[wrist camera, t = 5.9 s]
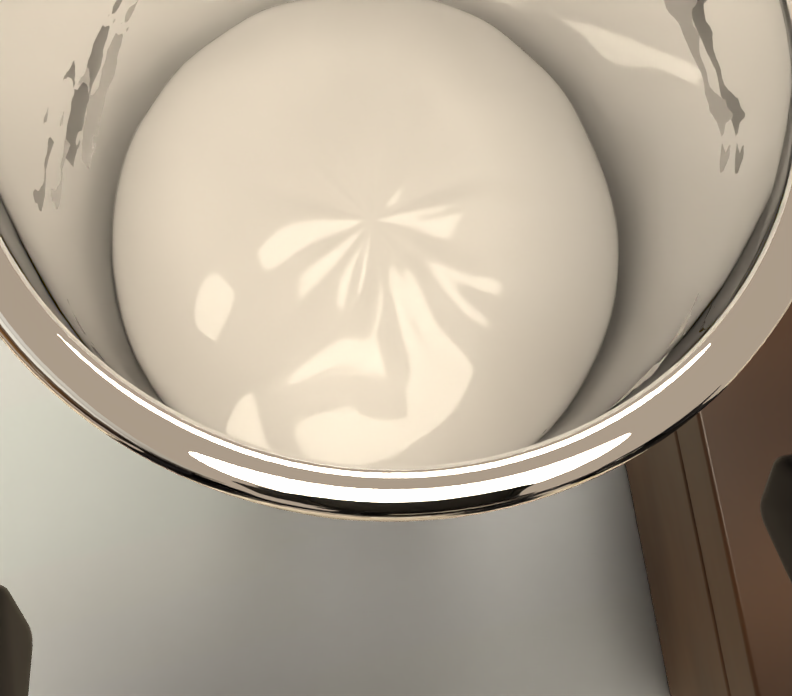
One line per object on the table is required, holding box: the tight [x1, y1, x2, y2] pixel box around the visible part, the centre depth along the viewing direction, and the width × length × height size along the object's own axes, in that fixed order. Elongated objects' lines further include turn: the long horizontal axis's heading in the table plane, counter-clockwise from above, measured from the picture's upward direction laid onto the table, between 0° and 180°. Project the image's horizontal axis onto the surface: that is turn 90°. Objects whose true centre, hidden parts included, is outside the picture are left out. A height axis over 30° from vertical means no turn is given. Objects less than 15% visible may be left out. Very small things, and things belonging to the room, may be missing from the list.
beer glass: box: [0, 0, 792, 522], centre depth 13 cm, size 7×7×15 cm
